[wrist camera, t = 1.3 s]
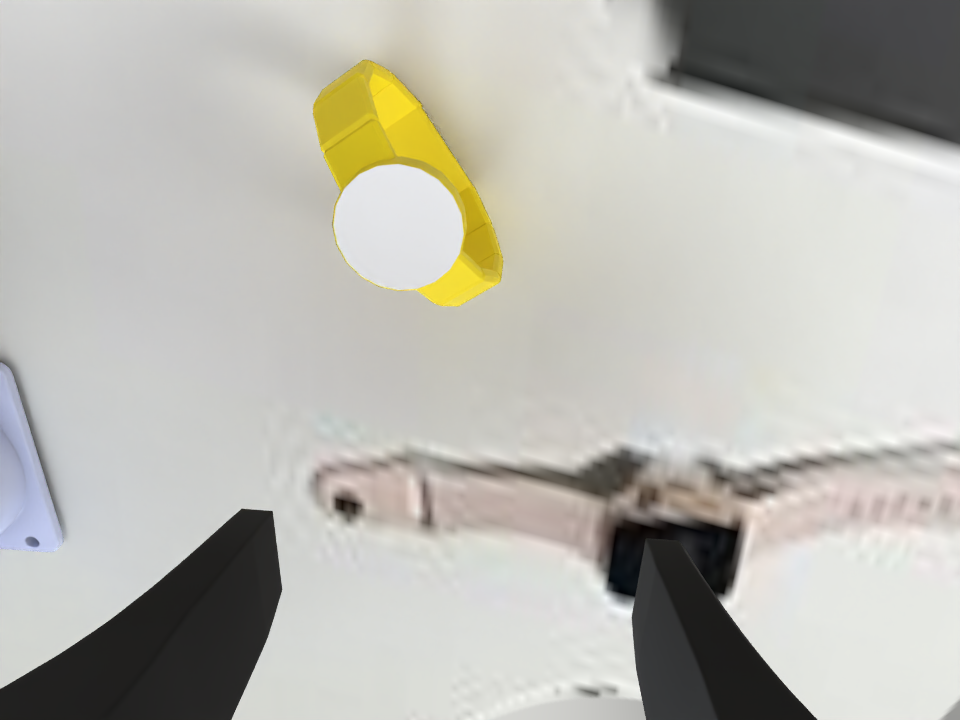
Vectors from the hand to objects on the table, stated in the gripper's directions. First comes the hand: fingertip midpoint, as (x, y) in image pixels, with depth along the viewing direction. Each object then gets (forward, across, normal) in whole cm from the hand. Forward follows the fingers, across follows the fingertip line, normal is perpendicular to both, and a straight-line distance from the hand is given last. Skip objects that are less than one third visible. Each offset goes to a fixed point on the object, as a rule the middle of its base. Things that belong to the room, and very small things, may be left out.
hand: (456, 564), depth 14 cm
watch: (+10, +2, -6) cm, 11 cm away
